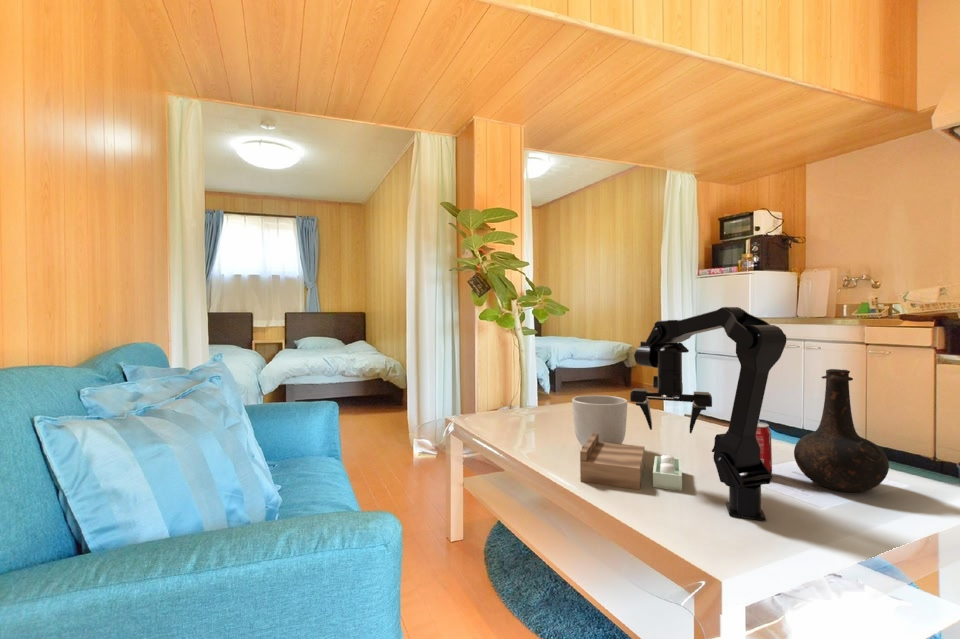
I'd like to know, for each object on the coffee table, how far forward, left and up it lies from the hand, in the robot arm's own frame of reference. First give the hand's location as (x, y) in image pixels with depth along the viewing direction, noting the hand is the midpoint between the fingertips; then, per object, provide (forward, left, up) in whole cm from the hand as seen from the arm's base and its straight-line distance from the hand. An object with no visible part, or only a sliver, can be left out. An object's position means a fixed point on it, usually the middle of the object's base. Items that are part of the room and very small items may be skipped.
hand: (670, 431), depth 112 cm
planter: (+21, +21, -12) cm, 32 cm away
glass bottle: (+10, -37, -12) cm, 41 cm away
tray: (-1, +1, -12) cm, 12 cm away
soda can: (+12, -20, -12) cm, 27 cm away
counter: (-1, +14, -12) cm, 18 cm away
